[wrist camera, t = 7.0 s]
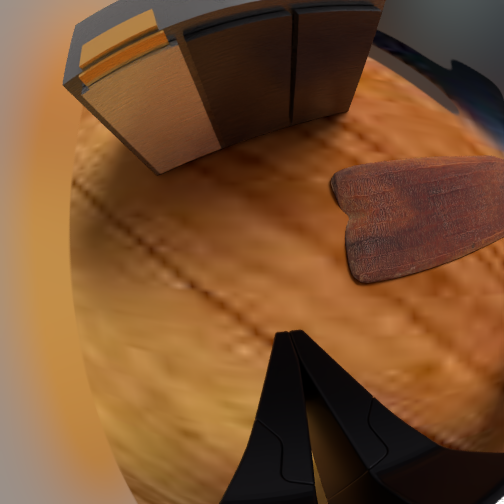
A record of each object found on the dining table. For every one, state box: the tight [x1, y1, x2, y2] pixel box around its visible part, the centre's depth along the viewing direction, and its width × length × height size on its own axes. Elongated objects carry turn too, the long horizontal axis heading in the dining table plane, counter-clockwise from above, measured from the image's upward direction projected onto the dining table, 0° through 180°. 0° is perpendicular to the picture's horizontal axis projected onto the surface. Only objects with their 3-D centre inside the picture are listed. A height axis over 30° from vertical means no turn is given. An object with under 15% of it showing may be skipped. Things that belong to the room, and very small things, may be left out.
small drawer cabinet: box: [63, 0, 385, 176], centre depth 16 cm, size 9×19×14 cm, turn 110°
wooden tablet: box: [331, 156, 504, 283], centre depth 20 cm, size 27×10×2 cm, turn 102°
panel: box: [81, 40, 221, 174], centre depth 16 cm, size 8×6×12 cm
